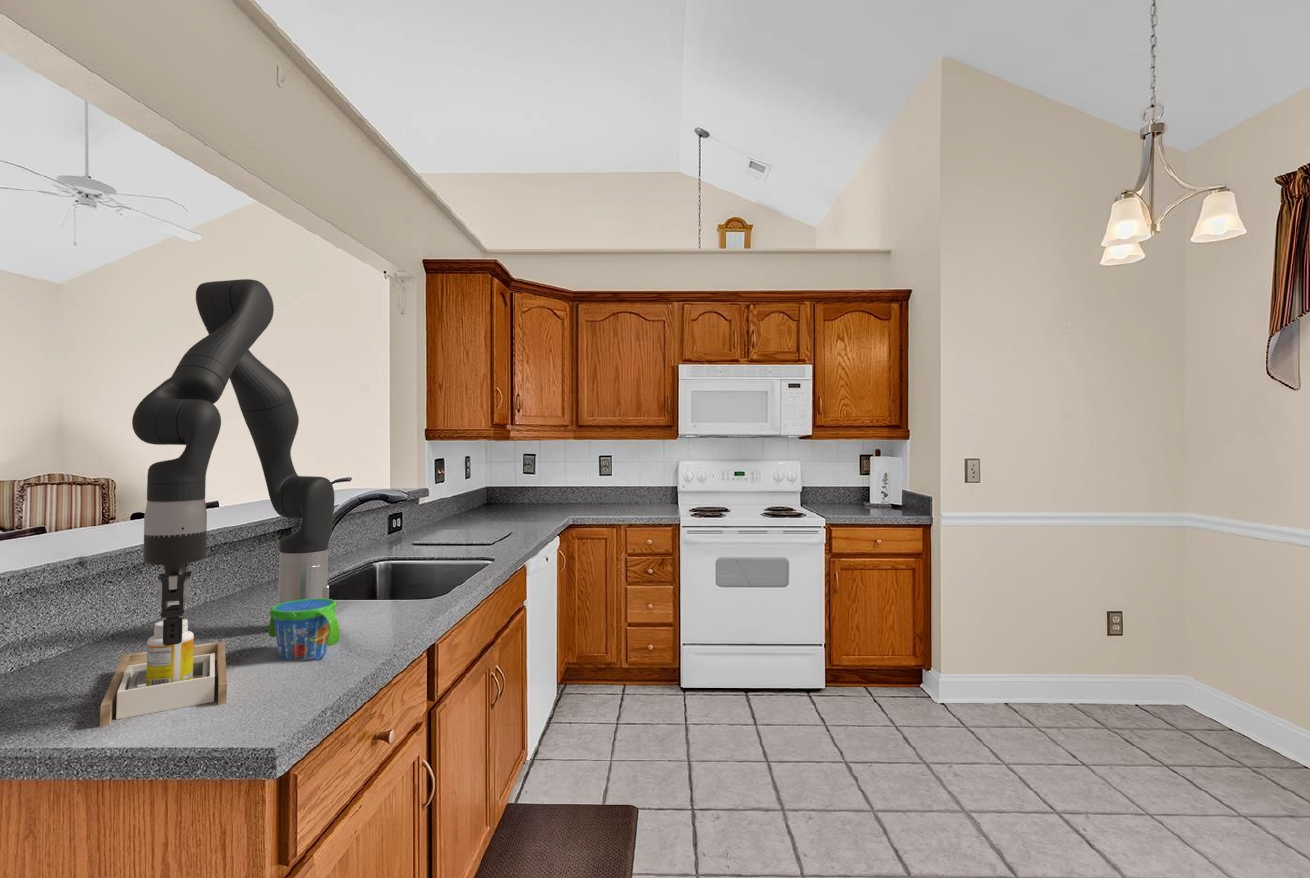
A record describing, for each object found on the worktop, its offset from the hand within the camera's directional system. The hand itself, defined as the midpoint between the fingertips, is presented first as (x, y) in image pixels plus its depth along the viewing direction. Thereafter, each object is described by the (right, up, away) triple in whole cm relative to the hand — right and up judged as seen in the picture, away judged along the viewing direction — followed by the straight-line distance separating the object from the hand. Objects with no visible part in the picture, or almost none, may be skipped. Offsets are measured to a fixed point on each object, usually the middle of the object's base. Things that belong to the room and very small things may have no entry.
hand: (173, 636), depth 93 cm
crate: (-1, -9, +1) cm, 9 cm away
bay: (-4, -10, +4) cm, 12 cm away
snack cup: (+7, -11, +21) cm, 25 cm away
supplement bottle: (0, -8, 0) cm, 8 cm away
